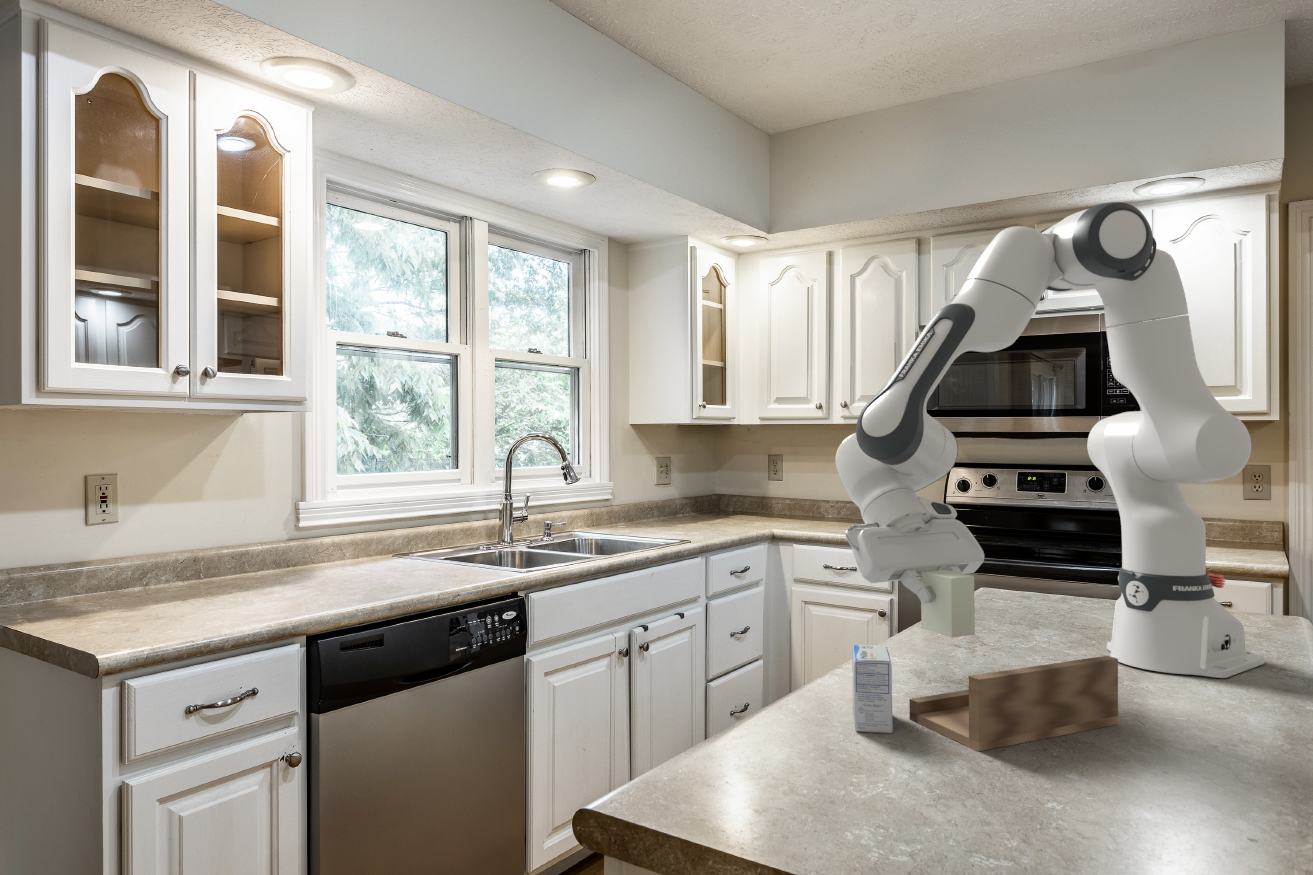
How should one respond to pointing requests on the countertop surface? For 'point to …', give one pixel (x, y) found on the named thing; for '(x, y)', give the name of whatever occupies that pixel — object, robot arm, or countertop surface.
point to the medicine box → (872, 689)
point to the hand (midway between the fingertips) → (945, 598)
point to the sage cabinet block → (949, 603)
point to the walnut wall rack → (1025, 704)
